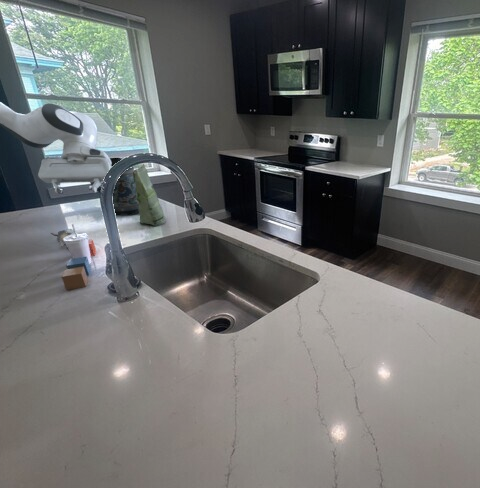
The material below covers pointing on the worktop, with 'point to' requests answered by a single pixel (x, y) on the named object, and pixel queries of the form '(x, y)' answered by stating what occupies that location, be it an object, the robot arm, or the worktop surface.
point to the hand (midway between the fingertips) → (76, 192)
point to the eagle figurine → (63, 235)
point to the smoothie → (78, 244)
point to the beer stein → (124, 193)
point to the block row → (78, 270)
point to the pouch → (147, 198)
